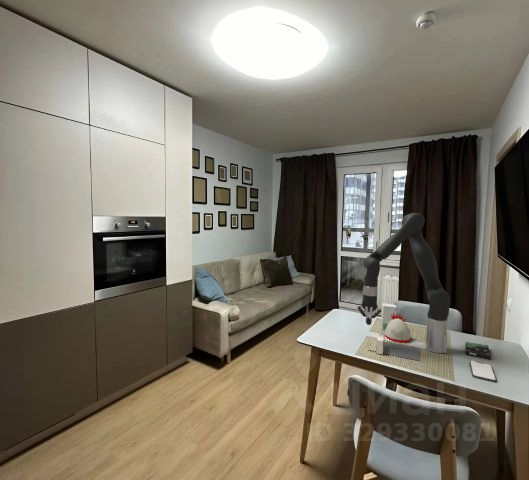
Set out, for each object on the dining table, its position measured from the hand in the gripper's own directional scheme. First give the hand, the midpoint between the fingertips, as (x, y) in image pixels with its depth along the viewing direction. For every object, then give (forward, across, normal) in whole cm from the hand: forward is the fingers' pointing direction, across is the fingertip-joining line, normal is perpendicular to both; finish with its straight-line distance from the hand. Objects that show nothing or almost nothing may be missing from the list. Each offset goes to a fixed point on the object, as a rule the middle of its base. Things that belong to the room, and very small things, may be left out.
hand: (368, 324), depth 161 cm
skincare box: (+12, -8, -31) cm, 34 cm away
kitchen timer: (+12, -14, -18) cm, 26 cm away
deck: (+7, -7, 0) cm, 10 cm away
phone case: (+11, -51, +6) cm, 53 cm away
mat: (+11, -13, 0) cm, 18 cm away
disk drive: (+12, -53, -18) cm, 57 cm away
